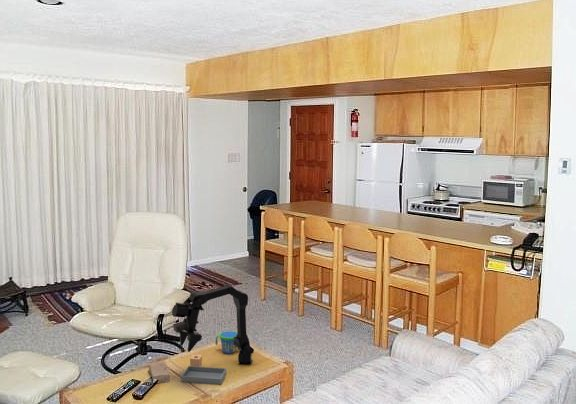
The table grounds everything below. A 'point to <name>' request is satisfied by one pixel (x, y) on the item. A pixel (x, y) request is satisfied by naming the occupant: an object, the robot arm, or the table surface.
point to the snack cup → (227, 341)
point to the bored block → (196, 360)
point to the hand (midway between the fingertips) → (184, 348)
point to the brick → (159, 371)
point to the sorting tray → (204, 375)
